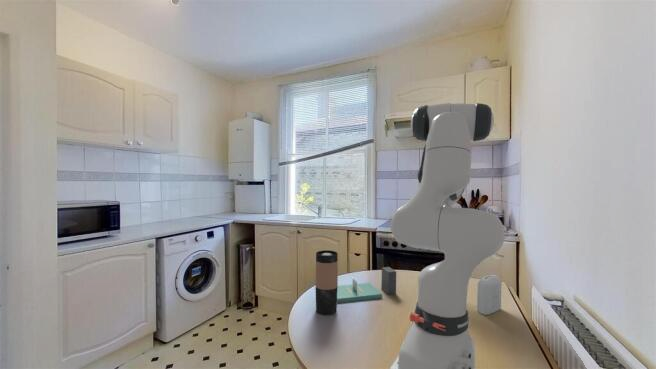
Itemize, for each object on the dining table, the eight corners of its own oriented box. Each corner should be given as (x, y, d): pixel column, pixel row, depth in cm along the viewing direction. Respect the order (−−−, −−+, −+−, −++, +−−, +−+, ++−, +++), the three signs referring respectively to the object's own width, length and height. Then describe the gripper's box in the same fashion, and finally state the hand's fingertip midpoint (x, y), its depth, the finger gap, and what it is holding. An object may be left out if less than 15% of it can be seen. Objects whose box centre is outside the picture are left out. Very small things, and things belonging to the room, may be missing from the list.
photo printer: (490, 304, 104) (491, 271, 104) (502, 309, 100) (503, 274, 100) (475, 311, 98) (475, 276, 98) (487, 316, 94) (488, 280, 94)
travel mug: (341, 308, 99) (341, 252, 99) (329, 317, 93) (330, 257, 92) (323, 303, 103) (323, 249, 103) (310, 311, 97) (311, 253, 96)
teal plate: (382, 297, 109) (382, 283, 109) (337, 302, 104) (337, 288, 104) (369, 286, 120) (369, 273, 120) (328, 290, 116) (329, 277, 116)
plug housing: (395, 293, 113) (396, 271, 113) (388, 294, 112) (388, 272, 112) (388, 288, 118) (389, 266, 118) (381, 289, 118) (381, 267, 117)
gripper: (418, 201, 130) (399, 223, 127) (448, 205, 110) (426, 231, 108) (426, 210, 131) (407, 232, 129) (458, 216, 111) (436, 242, 109)
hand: (416, 232), depth 118 cm, fingers open, 8 cm apart
